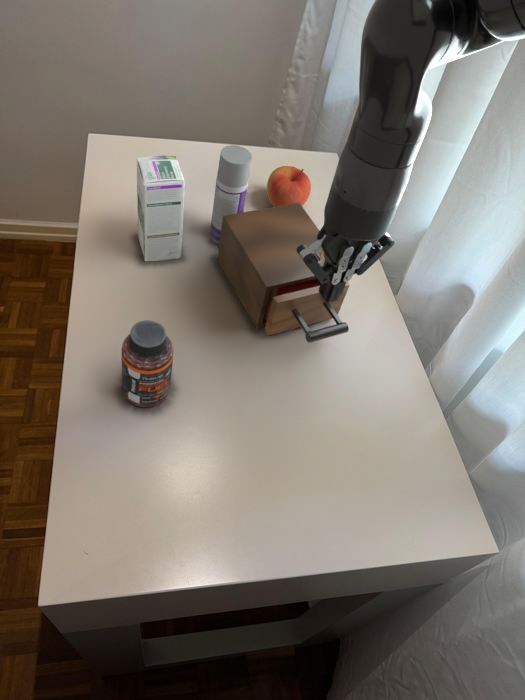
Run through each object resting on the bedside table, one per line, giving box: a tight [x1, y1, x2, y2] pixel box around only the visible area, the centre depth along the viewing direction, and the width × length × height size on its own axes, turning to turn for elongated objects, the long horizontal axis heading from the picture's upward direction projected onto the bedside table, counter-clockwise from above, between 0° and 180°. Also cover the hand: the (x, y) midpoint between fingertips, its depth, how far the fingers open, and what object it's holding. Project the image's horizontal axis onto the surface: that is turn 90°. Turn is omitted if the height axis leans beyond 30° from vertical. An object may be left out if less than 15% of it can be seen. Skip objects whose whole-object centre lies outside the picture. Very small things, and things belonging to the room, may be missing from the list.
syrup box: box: [136, 155, 186, 262], centre depth 83 cm, size 6×6×14 cm
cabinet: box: [216, 203, 325, 330], centre depth 84 cm, size 15×13×9 cm
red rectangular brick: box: [276, 279, 321, 296], centre depth 82 cm, size 8×3×3 cm, turn 116°
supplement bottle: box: [120, 319, 174, 408], centre depth 68 cm, size 6×6×11 cm
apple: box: [266, 165, 312, 207], centre depth 96 cm, size 7×7×8 cm
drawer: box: [264, 281, 351, 344], centre depth 81 cm, size 19×11×7 cm, turn 25°
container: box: [209, 144, 253, 245], centre depth 87 cm, size 5×5×15 cm
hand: (328, 297), depth 74 cm, fingers closed
